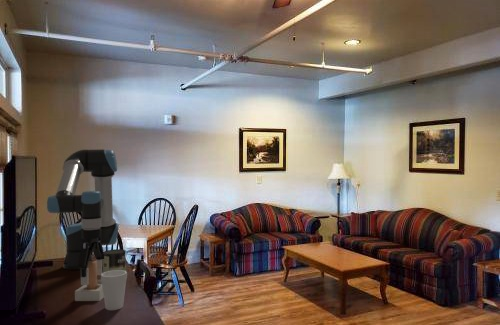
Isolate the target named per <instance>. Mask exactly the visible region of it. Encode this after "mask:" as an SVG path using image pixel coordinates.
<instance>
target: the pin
mask: <svg viewBox="0 0 500 325" xmlns="http://www.w3.org/2000/svg"><path fill="white" fill-rule="evenodd" d="M87 268H88V283H89V284H88V285H87V290H96V289H97V279H98V275H97V261H95V260H93V261H89V263H88V266H87Z"/></svg>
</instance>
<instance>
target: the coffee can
mask: <svg viewBox="0 0 500 325" xmlns="http://www.w3.org/2000/svg"><path fill="white" fill-rule="evenodd" d="M103 252H104V259H102V273H104V272H107V271H112V270H124V271H126V272H127V270H126V269H127V267H126V266H127V265H126V263H127V262H126V260H127V259H126V256H127V255H126V252H127V251H126V250H125V249H122V248H121V249H119V248H118V249H117V248H116V249H115V248H114V249H108V250H103Z"/></svg>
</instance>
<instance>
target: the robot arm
mask: <svg viewBox="0 0 500 325" xmlns="http://www.w3.org/2000/svg"><path fill="white" fill-rule="evenodd" d="M117 161H118V160H117V157H116V153H115V151H114V150H113V149H103V148H102V149H80V150H77V151H75V152H73V153H72V154H70V155H69V156H68V157H67V158H66V159H65V160H64V162H63V165H62V170H63V172H62V175H61V178H60V180H59V183H58V187H57V189H56V193H55V194H54V195H49V196H48V197H47V200H46V209H47V211H48V213H49V214H65V213H81V220H80V222H78V223H74V224H70V225H68V226H67V227H66V233H65V236H66V237H65V238H66V254H65V257H64V259H63V263H62V268H63V269H64V270H68V271H69V270H70V271H71V270H74V271H75V270H80V286H83V285H88V284H89V283H88V268H87V266H88V263H89V261H97V276H101V274H102V273H103V259H104V248H103V246H113V245H115V244H116V243H117V242H118V241H117V240H118V235H119V234H118V233H119V225H120V224H119V222H118V223H117V221H116V219H115V218H114V217H113V216H114V215H113V214H114V212H113V185H112V184H113V180H112V178H113V177H114V176H115V173H116V172H117V171H118V165H117V164H118V163H117ZM83 173H90V174H91V175H90V176H91V177H92V178H94V190H89V191H88V190H87V191H82V193H81V194H76V191H77V188H78V183H79V180H80V176H81V175H82V174H83ZM92 254H93V255H94V257H95V259H94V258H93V255H92Z"/></svg>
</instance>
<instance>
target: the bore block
mask: <svg viewBox="0 0 500 325" xmlns="http://www.w3.org/2000/svg"><path fill="white" fill-rule="evenodd" d="M103 299H104V295H103V288H102V282H101V278H99V279H98V278H97V289H96V290H87V285H81V286H80V287H78V289H76V290H74V301H75V302H101V300H103Z"/></svg>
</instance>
